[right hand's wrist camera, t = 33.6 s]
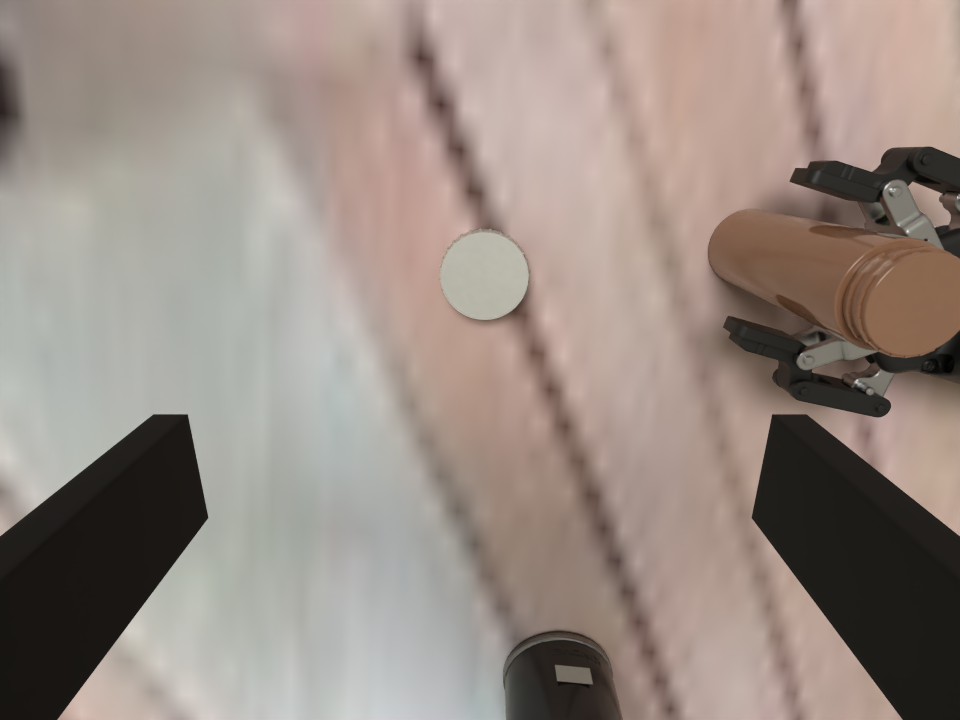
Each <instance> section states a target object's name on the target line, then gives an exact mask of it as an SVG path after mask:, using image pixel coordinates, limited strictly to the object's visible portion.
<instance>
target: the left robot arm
mask: <svg viewBox="0 0 960 720" xmlns="http://www.w3.org/2000/svg"><path fill="white" fill-rule="evenodd" d="M912 181H913V182H915V183H918V184H920V185H923V186H925V187H928V188H930V189H933V190H935V191H937V192H940V193H942V195H941V196H940V197H939V201H940V202H941V203H942V204H943V207H944V208H945V209H946V210H948V211H949V212H950V214H951V221H950V224H949V225H945V226H940V227H936V228H934V227H933V225H932V223H931V221H930V219H929V218H928V217H927V216H926V215H924V214H923V213H921V212H920V211H919V209H918V207H917V205H916V203H915V201H914V199H913V197H912V195H911V193H910V190H909V188H908V186H909V185H910V184H911V182H912ZM790 182H792V183H795V184H798V185H801V186H804V187H807V188H811V189H814V190H817V191H820V192H823V193H826V194H829V195H833V196H836V197H839V198H842V199H845V200H850V201H857V202H858V204H859V206H860V208H861V210H862V212H863V214H864V216H865V218H866V223H865V228H866V229H867V230H873V231H878V232H884V233H889V234H895V235H900V236H906V237H911V238H917V239H921V240H924V241H927V242H929V243H931V244H933V245H935V246H936V247H937V248H940V249H942V250H945V251H947V252H950V253H952V255H954V256H956V257H958V258H959V259H960V158H957V157H955V156H952V155H950V154H947V153H945V152H943V151H940V150H938V149H935V148H933V147H902V148H891V149H889V150H887V151H886V152H885V153H884V155H883V156H882V159H881V164H880V165H879V167H878V168H877V169H876V170H874V171H873V172H869V171H866V170H863V169H860V168H857V167H853V166H851V165H848V164H845V163H842V162H839V161H813V162H810V163H809V166H808V168H795V170H794V172H793V175H792V177H791V179H790ZM723 328H725V329H726V330H728V331H729V332H731V334H730V336H729V338H730V339H731V340H732V341H733V342H734V343H736V344H737V345H738V346H740V347H741V348H743V349H744V350H745V351H748V352H752V353H756V354H759V355H762V356H766V357H769V358H773V359H776V360H778V362H779V365H778V369H777V370H776V371H775V372H774V373H773V377H772V379H773V381H774V383H776V384H777V385H778V386H779V387H782V388H783V389H785V390H786V391H787V392H789V393H790V395H791V396H792V397H794V398H795V399H796V400H799V401H803V402H808V403H813V404H817V405H822V406H826V407H831V408H836V409H840V410H845V411H850V412H854V413H859V414H863V415H868V416H873V417H882V416H884V415H886V414H887V413H888V412H889V410H890V408H891V403H890V402H889V400H887V399H885V398H884V397H883V396H884V394H885V392H886V390H887V388H888V386H889V384H890V382H891V380H892V378H893V376H894V374H895V373H902V372H906V371H917V372H921V373H925V374H928V375H932V376H935V377H939V378H942V379H945V380H949V381H952V382H956V383H959V384H960V330H959V331H958V332H957V334H956V335H955V336H953V337H952V338H951V339H950V340H949V341H947V342H946V343H944V344H943V345H941V346H940V347H938V348H936V349H935V350H934V351H932V352H930V353H927V354H925V355H922V356H915V357H909V358H903V357H891V356H889V355H886V354H883V353H881V352H878V351H872V350H866V349H863V348H859V347H857V346H855V345H853V344H851V343H849V342H847V341H845V340H843V339H841V338H839V337H837V336H835V335H833V334H831V333H829V332H827V331H825V330H823V329H821V328H819V327H817V326H815V325H813V327H812V328H811V329H809V330H806V331H803V332H800V333H797V334H794V335H791V336H790V335H788V334H786V333H784V332H783V331H780V330H776V329H773V328H769V327H766V326H762V325H759V324H756V323H752V322H749V321H745V320H742V319H738V318H735V317H731V316H728V317H727V319H726V321H725V323H724V326H723ZM861 357H865V358H866V360H867V361H868V362H869V363H870V364H871V365H870V366H869V368H868V369H866V370H865V371H863V372H852V373H850V374H848V373H845V374H844V375H843V376H842V379H838V378H834V377H829V376H825V375H820V374H816V373H812V369H813V368H816V367H819V366H822V365H825V364H828V363H831V362H834V361H837V360H855V359H858V358H861ZM503 682H504V689H505V702H506V720H623V718H622V714H621V710H620V706H619V702H618V698H617V694H616V690H615V686H614V682H613V674H612V669H611V665H610V661H609V659H608V657H607V655H606V653H605V652H604V650H603V649H602V648H601V647H600V646H599V645H597V644H596V643H595V642H593V641H592V640H590V639H588V638H586V637H583V636H581V635H577V634H573V633H566V632H552V633H545V634H541V635H538V636H535V637H532V638H530V639H528V640H526V641H524V642H523V643H521V644H520V645H519V646H517V647H516V648H515V649H514V650H513V651H512V653H511V654H510V655H509V657H508V658H507V660H506V662H505V666H504V670H503Z"/></svg>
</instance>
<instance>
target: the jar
mask: <svg viewBox="0 0 960 720" xmlns="http://www.w3.org/2000/svg"><path fill="white" fill-rule="evenodd" d="M708 255H709V261H710V264H711V267H712V268H713V270H714V272H715V273H716V274H717V275H718V276H719V277H720V278H722V279H723V280H725V281H727V282H729V283H731V284H733V285H735V286H737V287H739V288H741V289H743V290H745V291H747V292H749V293H751V294H753V295H755V296H757V297H759V298H761V299H763V300H765V301H767V302H769V303H771V304H773V305H775V306H777V307H779V308H781V309H783V310H785V311H787V312H789V313H791V314H793V315H795V316H797V317H799V318H801V319H803V320H805V321H807V322H809V323H811V324H813V325H815V326H817V327H819V328H821V329H823V330H825V331H827V332H829V333H831V334H833V335H835V336H837V337H839V338H841V339H843V340H845V341H847V342H849V343H851V344H853V345H855V346H857V347H859V348H863V349H866V350H872V351H878V352H881V353H883V354H886V355H889V356H891V357H903V358H909V357H915V356H922V355H925V354H927V353H930V352H932V351H934V350H935V349H936V348H938V347H940V346H941V345H943V344H944V343H946V342H947V341H949V340H950V339H951V338H952V337H953V336H955V335H956V334H957V332H958V331H959V330H960V259H959V258H958V257H956V256H954V255H952V253H950V252H947V251H945V250H942V249H940V248H937V247H936V246H935V245H933V244H931V243H929V242H927V241H924V240H921V239H917V238H911V237H906V236H900V235H895V234H889V233H884V232H878V231H873V230H867V229H862V228H856V227H851V226H845V225H840V224H835V223H829V222H824V221H818V220H813V219H807V218H802V217H796V216H791V215H785V214H780V213H774V212H769V211H763V210H758V209H746V210H741V211H738V212H736V213H734V214H732V215H730V216H729V217H727V218H726V219H725V220H723V221H722V222H721V223H720V224H719V226H718V227H717V228H716V230H715V231H714V233H713V235H712V237H711V240H710V243H709V250H708Z"/></svg>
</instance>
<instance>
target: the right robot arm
mask: <svg viewBox="0 0 960 720" xmlns="http://www.w3.org/2000/svg"><path fill="white" fill-rule="evenodd" d="M207 519H208V514H207V509H206V504H205V499H204V494H203V489H202V484H201V479H200V474H199V469H198V464H197V459H196V454H195V449H194V444H193V439H192V434H191V429H190V424H189V419H188V415H152V416H151V417H150V418H148V419H147V420H146V421H145V422H143V423H142V424H141V425H140V426H138V427H137V428H136V429H135V430H133V431H132V432H131V433H130V434H128V435H127V436H126V437H125V438H123V439H122V440H121V441H120V442H118V443H117V444H116V445H115V446H113V447H112V448H111V449H110V450H108V451H107V452H106V453H105V454H103V455H102V456H101V457H99V458H98V459H97V460H96V461H94V462H93V463H92V464H91V465H89V466H88V467H87V468H86V469H84V470H83V471H82V472H81V473H79V474H78V475H77V476H76V477H74V478H73V479H72V480H71V481H69V482H68V483H67V484H66V485H64V486H63V487H62V488H61V489H59V490H58V491H57V492H55V493H54V494H53V495H52V496H50V497H49V498H48V499H47V500H45V501H44V502H43V503H42V504H40V505H39V506H38V507H37V508H35V509H34V510H33V511H32V512H30V513H29V514H28V515H27V516H25V517H24V518H23V519H22V520H20V521H19V522H18V523H17V524H15V525H14V526H13V527H12V528H10V529H9V530H8V531H6V532H5V533H4V534H3V535H1V536H0V720H57V719H58V718H59V717H60V715H61V714H62V713H63V711H64V710H65V709H66V707H67V706H68V705H69V703H70V702H71V701H72V699H73V698H74V697H75V695H76V694H77V693H78V691H79V690H80V689H81V687H82V686H83V685H84V683H85V682H86V680H87V679H88V678H89V676H90V675H91V674H92V672H93V671H94V670H95V668H96V667H97V666H98V664H99V663H100V662H101V660H102V659H103V658H104V656H105V655H106V654H107V652H108V651H109V650H110V648H111V647H112V646H113V644H114V643H115V642H116V640H117V639H118V638H119V636H120V635H121V634H122V632H123V631H124V630H125V628H126V627H127V626H128V624H129V623H130V622H131V620H132V619H133V618H134V616H135V615H136V614H137V612H138V611H139V610H140V608H141V607H142V606H143V604H144V603H145V602H146V600H147V599H148V598H149V596H150V595H151V594H152V592H153V591H154V590H155V588H156V587H157V586H158V584H159V583H160V582H161V580H162V579H163V578H164V576H165V575H166V574H167V572H168V571H169V570H170V568H171V567H172V566H173V564H174V563H175V562H176V560H177V559H178V558H179V556H180V555H181V554H182V552H183V551H184V550H185V548H186V547H187V546H188V544H189V543H190V542H191V540H192V539H193V538H194V536H195V535H196V534H197V532H198V531H199V530H200V528H201V527H202V525H203V524H204V523H205V521H206V520H207ZM752 519H753V520H754V521H755V523H756V524H757V525H758V527H759V528H760V530H761V531H762V532H763V534H764V535H765V536H766V538H767V539H768V540H769V542H770V543H771V544H772V546H773V547H774V548H775V550H776V551H777V552H778V554H779V555H780V556H781V558H782V559H783V560H784V562H785V563H786V564H787V566H788V567H789V568H790V570H791V571H792V572H793V574H794V575H795V576H796V578H797V579H798V580H799V582H800V583H801V584H802V586H803V587H804V588H805V590H806V591H807V592H808V594H809V595H810V596H811V598H812V599H813V600H814V602H815V603H816V604H817V606H818V607H819V608H820V610H821V611H822V612H823V614H824V615H825V616H826V618H827V619H828V620H829V622H830V623H831V624H832V626H833V627H834V628H835V630H836V631H837V632H838V634H839V635H840V636H841V638H842V639H843V640H844V642H845V643H846V644H847V646H848V647H849V648H850V650H851V651H852V652H853V654H854V655H855V656H856V658H857V659H858V660H859V662H860V663H861V664H862V666H863V667H864V668H865V670H866V671H867V672H868V674H869V675H870V676H871V678H872V679H873V680H874V682H875V683H876V685H877V686H878V687H879V689H880V690H881V691H882V693H883V694H884V695H885V697H886V698H887V699H888V701H889V702H890V703H891V705H892V706H893V707H894V709H895V710H896V711H897V713H898V714H899V715H900V717H901V718H902V719H903V720H960V536H959V535H957V534H956V533H955V532H954V531H952V530H951V529H950V528H948V527H947V526H946V525H945V524H943V523H942V522H941V521H940V520H938V519H937V518H936V517H935V516H933V515H932V514H931V513H930V512H928V511H927V510H926V509H925V508H923V507H922V506H921V505H920V504H918V503H917V502H916V501H915V500H913V499H912V498H911V497H910V496H908V495H907V494H906V493H905V492H903V491H902V490H901V489H899V488H898V487H897V486H896V485H894V484H893V483H892V482H891V481H889V480H888V479H887V478H886V477H884V476H883V475H882V474H881V473H879V472H878V471H877V470H876V469H874V468H873V467H872V466H871V465H869V464H868V463H867V462H866V461H864V460H863V459H862V458H861V457H859V456H858V455H857V454H855V453H854V452H853V451H852V450H850V449H849V448H848V447H847V446H845V445H844V444H843V443H842V442H840V441H839V440H838V439H837V438H835V437H834V436H833V435H832V434H830V433H829V432H828V431H827V430H825V429H824V428H823V427H822V426H820V425H819V424H818V423H817V422H815V421H814V420H813V419H812V418H810V417H809V416H808V415H772V419H771V424H770V429H769V434H768V439H767V444H766V449H765V454H764V459H763V464H762V469H761V474H760V479H759V484H758V489H757V494H756V499H755V504H754V509H753V514H752Z"/></svg>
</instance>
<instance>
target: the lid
mask: <svg viewBox="0 0 960 720" xmlns="http://www.w3.org/2000/svg"><path fill="white" fill-rule="evenodd" d="M523 254H524V252H523V250H521V249H520V248H519V246H518V243H517V242H515V241H513V240H512V239H511V238H510V236H509V235H508V236H507V235H505V234H503V233H501V231H499V232H498V231H495V230H491V228H490V229H481V228H480V229H478V230H474V231H472V230H470V232H468V233H466V234H464V235H463V234H461V236H460V237H459V238H458V239H457V240H454V241H453V243H452V245H451V246H450V247H449V248H447V250H446V255H445V257H444V256H443V258H442V261H443V262H442V266H441V267H440V281H441V287H442V290H443V293H444V295H445V297H446V299H447V300H448V302H449V303H450V304H451V306H452V307H453V308H454V309H456V310H457V311H458V312H460V313H461V314H463V315H465V316H467V317H469V318H473V319H477V320H491V319H496V318H499V317H502V316H504V315H506V314H508V313H509V312H511V311H512V310H513V309H514V308H515V307H516V306H517V305H518V304H519V303H520V302H521V300H522V299H523V297H524V295H525V293H526V290H527V286H528V283H529V269H528V266H527V263H528V262H527V259H526V258H525V257H524V255H523Z"/></svg>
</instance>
